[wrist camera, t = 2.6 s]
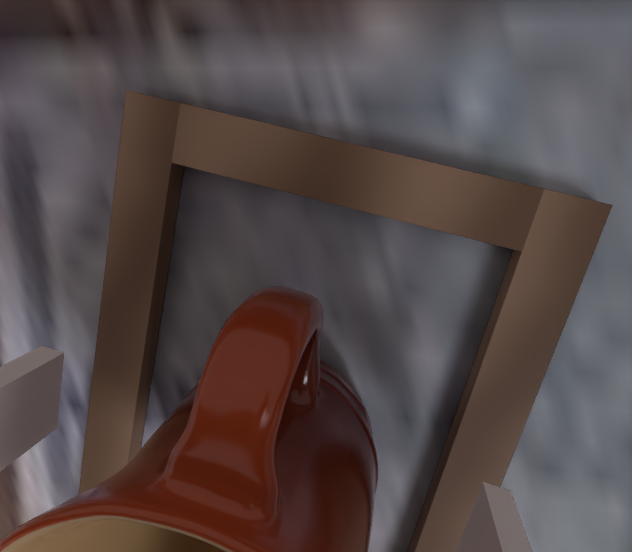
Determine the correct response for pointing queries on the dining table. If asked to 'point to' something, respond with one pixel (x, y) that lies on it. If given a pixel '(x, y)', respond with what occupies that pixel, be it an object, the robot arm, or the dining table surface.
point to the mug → (238, 455)
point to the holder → (364, 195)
